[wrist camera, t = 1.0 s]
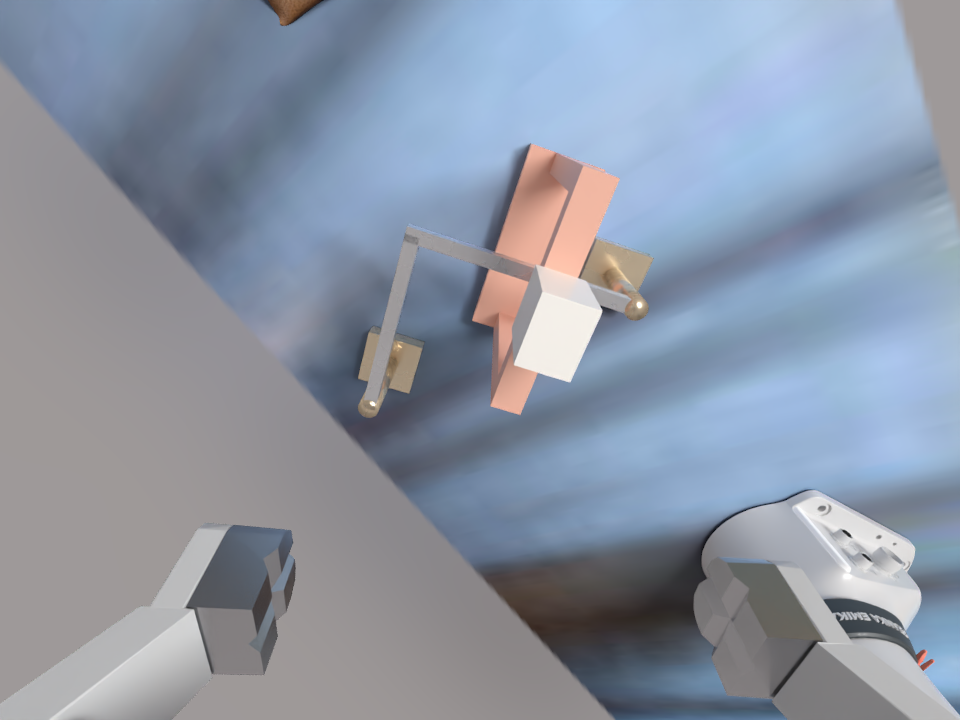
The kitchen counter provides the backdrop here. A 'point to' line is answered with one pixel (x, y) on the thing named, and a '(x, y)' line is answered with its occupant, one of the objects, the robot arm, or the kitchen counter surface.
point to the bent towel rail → (605, 270)
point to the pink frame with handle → (544, 275)
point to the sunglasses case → (291, 9)
